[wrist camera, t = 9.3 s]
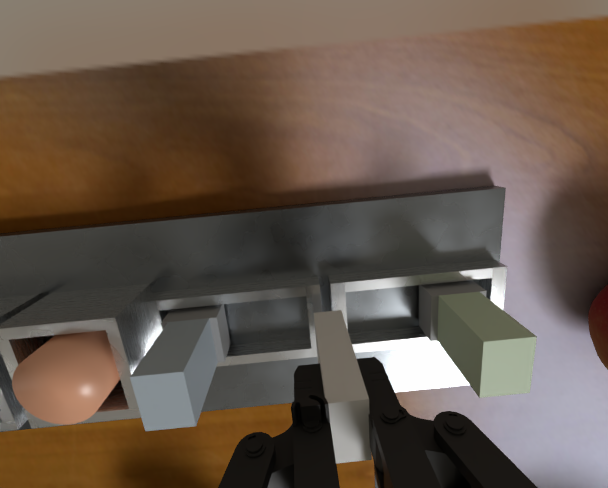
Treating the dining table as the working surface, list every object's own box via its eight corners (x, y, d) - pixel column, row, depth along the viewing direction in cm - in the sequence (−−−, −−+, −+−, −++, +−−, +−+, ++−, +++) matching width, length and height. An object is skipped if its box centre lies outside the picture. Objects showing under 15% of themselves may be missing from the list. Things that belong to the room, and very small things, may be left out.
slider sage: (418, 324, 20) (470, 398, 14) (419, 282, 20) (474, 342, 14) (467, 320, 20) (538, 391, 15) (469, 278, 20) (546, 335, 14)
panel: (-8, 421, 23) (-86, 494, 18) (-88, 242, 19) (-214, 274, 14) (481, 373, 23) (530, 432, 18) (495, 185, 19) (561, 199, 15)
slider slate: (181, 348, 20) (136, 432, 14) (172, 307, 20) (119, 377, 14) (230, 343, 20) (205, 425, 14) (223, 302, 20) (193, 370, 14)
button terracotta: (84, 368, 20) (28, 428, 16) (65, 309, 19) (-1, 357, 15) (149, 362, 20) (111, 420, 16) (134, 302, 19) (88, 348, 15)
